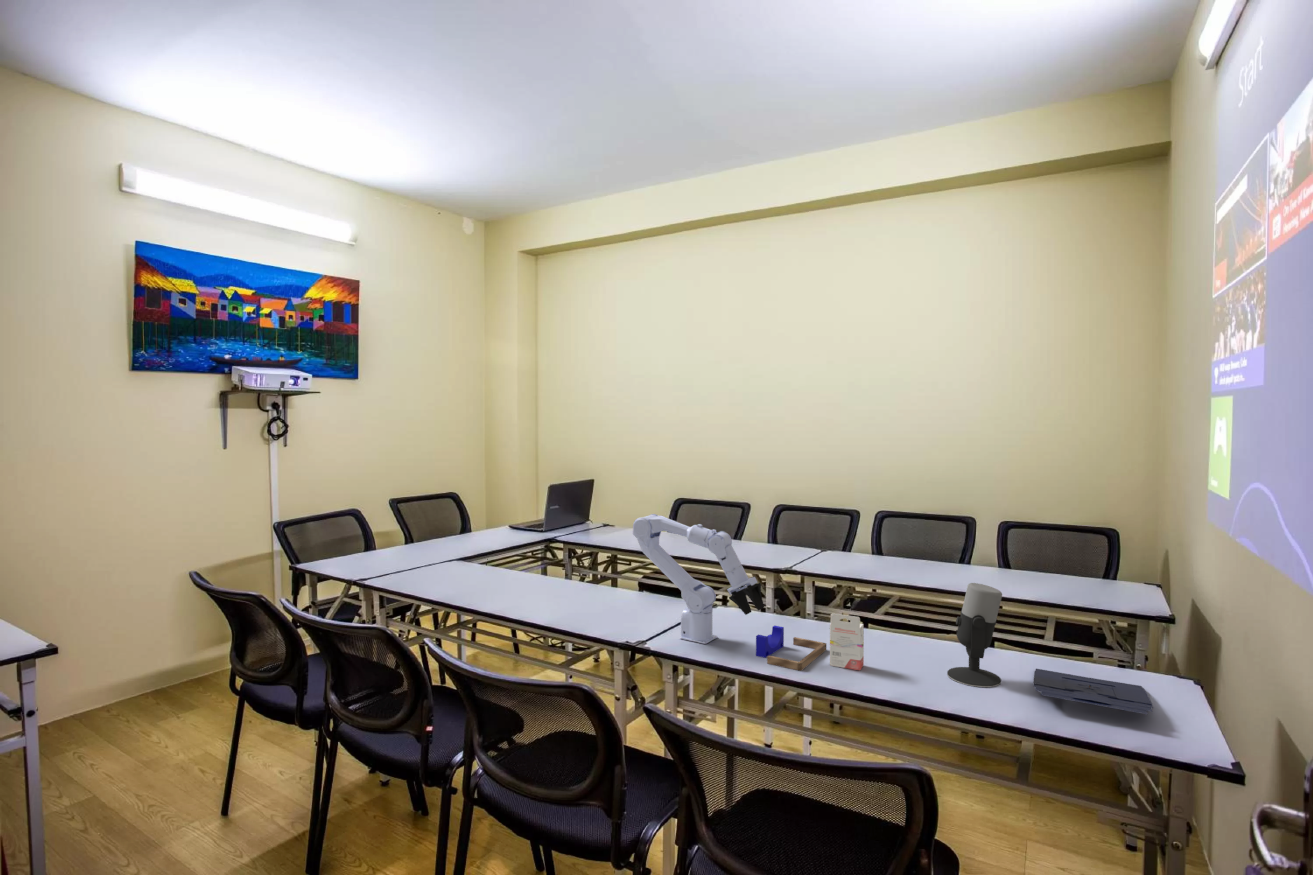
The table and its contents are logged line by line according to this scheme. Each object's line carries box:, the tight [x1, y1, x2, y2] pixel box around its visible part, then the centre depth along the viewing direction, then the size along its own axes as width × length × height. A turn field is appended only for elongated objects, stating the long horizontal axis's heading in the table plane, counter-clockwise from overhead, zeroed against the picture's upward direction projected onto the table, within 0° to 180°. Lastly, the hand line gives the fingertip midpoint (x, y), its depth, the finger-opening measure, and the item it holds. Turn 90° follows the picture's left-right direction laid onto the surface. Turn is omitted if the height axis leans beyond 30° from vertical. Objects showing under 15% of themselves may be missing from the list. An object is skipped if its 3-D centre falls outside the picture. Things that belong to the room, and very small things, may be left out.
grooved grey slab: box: [1032, 668, 1154, 715], centre depth 169 cm, size 24×30×4 cm
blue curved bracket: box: [755, 625, 785, 659], centre depth 203 cm, size 12×4×6 cm, turn 144°
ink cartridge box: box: [829, 613, 865, 671], centre depth 191 cm, size 9×5×15 cm, turn 62°
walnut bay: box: [766, 636, 827, 672], centre depth 198 cm, size 10×20×2 cm, turn 147°
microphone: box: [946, 582, 1003, 688], centre depth 182 cm, size 13×13×25 cm
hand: (754, 611), depth 204 cm, fingers open, 7 cm apart
